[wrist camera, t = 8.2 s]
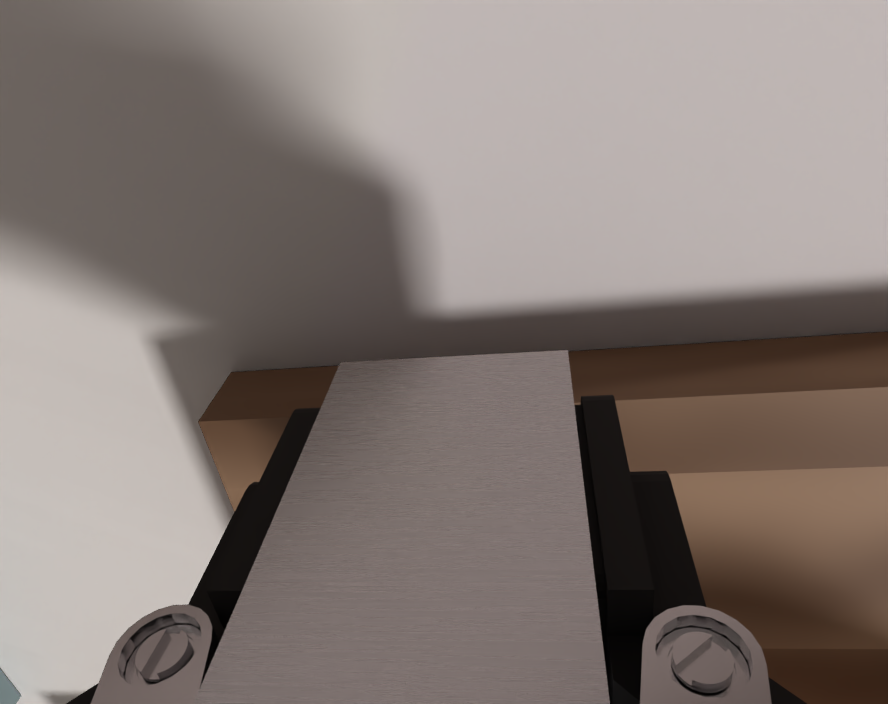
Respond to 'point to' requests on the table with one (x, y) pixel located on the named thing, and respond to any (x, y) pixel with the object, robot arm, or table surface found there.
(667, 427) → the deck
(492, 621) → the crook
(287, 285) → the table surface
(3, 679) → the light blue l-shaped block
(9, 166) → the table surface
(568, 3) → the table surface
